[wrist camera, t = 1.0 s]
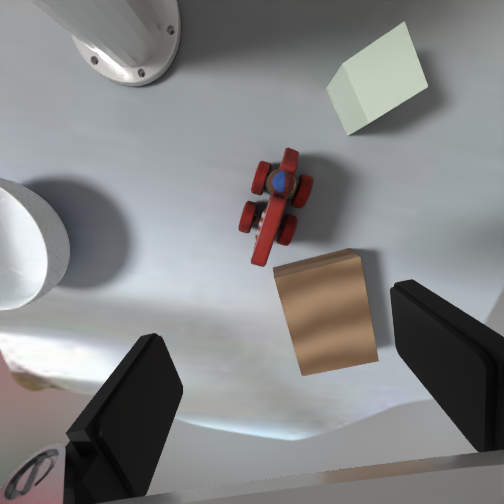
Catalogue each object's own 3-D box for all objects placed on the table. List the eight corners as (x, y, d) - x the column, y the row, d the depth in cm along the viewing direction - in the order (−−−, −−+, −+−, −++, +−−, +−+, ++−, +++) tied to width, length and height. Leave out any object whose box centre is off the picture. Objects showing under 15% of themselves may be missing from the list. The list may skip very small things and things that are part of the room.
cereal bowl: (10, 148, 31) (-60, 137, 24) (112, 233, 34) (75, 245, 27) (-41, 237, 35) (-115, 250, 28) (54, 308, 38) (8, 335, 31)
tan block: (272, 267, 34) (274, 278, 30) (348, 248, 33) (360, 256, 29) (297, 357, 38) (301, 376, 34) (366, 342, 37) (378, 361, 33)
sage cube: (326, 88, 28) (342, 63, 22) (373, 56, 27) (404, 21, 21) (347, 135, 29) (368, 123, 23) (394, 107, 28) (428, 86, 22)
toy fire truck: (315, 164, 30) (341, 153, 20) (282, 252, 33) (290, 280, 23) (264, 146, 30) (265, 126, 20) (236, 236, 33) (224, 258, 23)
